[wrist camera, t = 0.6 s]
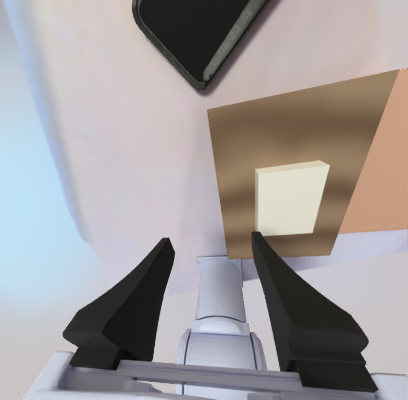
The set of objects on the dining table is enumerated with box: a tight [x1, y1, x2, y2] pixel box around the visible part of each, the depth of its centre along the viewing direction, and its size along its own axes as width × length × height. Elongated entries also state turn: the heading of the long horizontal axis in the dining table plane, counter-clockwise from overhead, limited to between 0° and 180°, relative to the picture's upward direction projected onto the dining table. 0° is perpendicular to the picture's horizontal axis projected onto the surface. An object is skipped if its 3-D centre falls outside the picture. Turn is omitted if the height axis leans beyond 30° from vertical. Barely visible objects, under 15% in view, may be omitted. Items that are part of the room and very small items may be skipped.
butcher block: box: [207, 70, 399, 260], centre depth 18 cm, size 20×14×2 cm
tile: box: [255, 160, 330, 236], centre depth 16 cm, size 8×6×2 cm
